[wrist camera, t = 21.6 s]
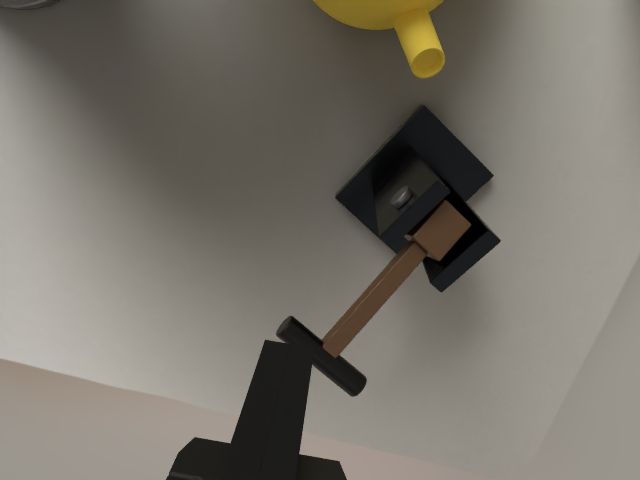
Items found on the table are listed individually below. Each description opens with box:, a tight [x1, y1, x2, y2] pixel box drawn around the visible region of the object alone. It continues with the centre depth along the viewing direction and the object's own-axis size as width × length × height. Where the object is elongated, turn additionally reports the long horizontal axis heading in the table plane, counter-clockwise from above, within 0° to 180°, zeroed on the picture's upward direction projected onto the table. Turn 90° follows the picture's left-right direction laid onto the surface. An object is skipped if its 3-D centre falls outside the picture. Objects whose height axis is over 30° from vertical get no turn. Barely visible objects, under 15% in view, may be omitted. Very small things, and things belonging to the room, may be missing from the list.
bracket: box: [335, 104, 501, 292], centre depth 31 cm, size 10×8×14 cm
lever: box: [276, 200, 471, 397], centre depth 27 cm, size 12×6×2 cm, turn 138°
